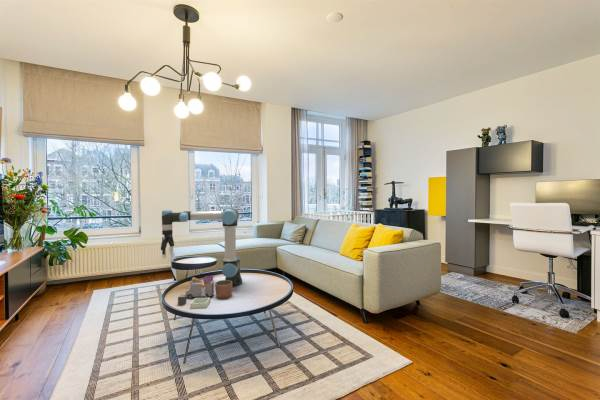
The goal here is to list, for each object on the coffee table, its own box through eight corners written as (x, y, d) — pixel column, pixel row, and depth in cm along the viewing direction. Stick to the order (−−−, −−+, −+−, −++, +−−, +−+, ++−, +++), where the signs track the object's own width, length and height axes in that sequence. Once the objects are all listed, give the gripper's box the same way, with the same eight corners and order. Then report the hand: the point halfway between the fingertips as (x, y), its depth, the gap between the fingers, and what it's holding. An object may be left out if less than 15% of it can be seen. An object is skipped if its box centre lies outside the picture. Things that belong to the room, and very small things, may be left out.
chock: (186, 303, 204) (186, 294, 204) (184, 305, 199) (183, 297, 199) (180, 303, 203) (180, 294, 203) (178, 306, 198) (177, 297, 198)
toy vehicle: (188, 295, 219) (188, 275, 219) (214, 294, 221) (214, 275, 220) (184, 299, 210) (184, 279, 209) (212, 298, 211) (211, 278, 211)
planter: (223, 301, 206) (223, 286, 206) (211, 298, 213) (211, 283, 213) (236, 295, 217) (235, 281, 217) (224, 292, 223) (224, 279, 223)
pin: (207, 299, 209) (206, 283, 208) (205, 301, 205) (205, 284, 204) (201, 299, 208) (201, 283, 208) (200, 301, 204) (199, 285, 204)
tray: (210, 302, 204) (210, 297, 204) (206, 308, 194) (206, 303, 194) (195, 303, 203) (194, 297, 203) (190, 309, 193) (190, 303, 193)
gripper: (168, 227, 240) (169, 253, 241) (155, 231, 215) (156, 260, 216) (178, 227, 240) (178, 252, 241) (165, 231, 215) (166, 259, 216)
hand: (167, 256), depth 228 cm, fingers open, 13 cm apart
